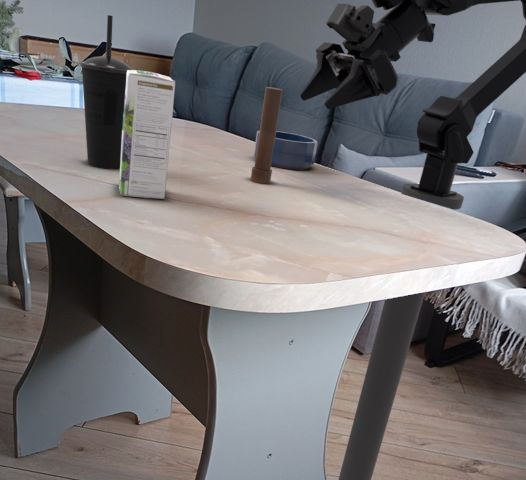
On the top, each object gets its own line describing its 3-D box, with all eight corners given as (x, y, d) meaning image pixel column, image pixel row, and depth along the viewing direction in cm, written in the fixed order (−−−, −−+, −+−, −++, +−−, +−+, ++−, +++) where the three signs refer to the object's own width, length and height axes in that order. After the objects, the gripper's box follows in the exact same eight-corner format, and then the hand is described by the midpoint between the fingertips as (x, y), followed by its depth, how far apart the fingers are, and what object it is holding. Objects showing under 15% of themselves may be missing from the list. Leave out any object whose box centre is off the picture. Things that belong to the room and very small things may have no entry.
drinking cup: (140, 167, 95) (149, 22, 86) (109, 173, 88) (115, 16, 79) (100, 157, 97) (104, 14, 88) (67, 161, 91) (68, 8, 82)
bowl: (279, 156, 125) (283, 130, 123) (324, 169, 119) (329, 142, 117) (241, 157, 117) (244, 130, 115) (287, 171, 111) (292, 143, 108)
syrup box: (118, 185, 83) (123, 67, 76) (162, 189, 84) (171, 74, 78) (119, 196, 78) (125, 71, 71) (166, 200, 79) (176, 79, 73)
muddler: (259, 178, 101) (272, 87, 95) (274, 183, 100) (288, 90, 94) (246, 179, 99) (259, 86, 93) (261, 184, 97) (275, 89, 91)
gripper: (338, -13, 99) (264, 52, 99) (400, -15, 84) (312, 62, 84) (369, 49, 105) (299, 109, 106) (432, 57, 90) (350, 128, 91)
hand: (313, 102), depth 96 cm, fingers open, 9 cm apart
